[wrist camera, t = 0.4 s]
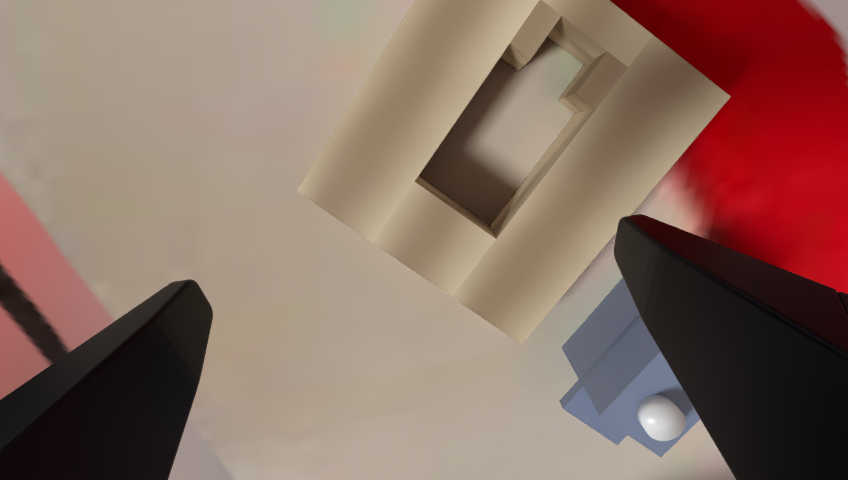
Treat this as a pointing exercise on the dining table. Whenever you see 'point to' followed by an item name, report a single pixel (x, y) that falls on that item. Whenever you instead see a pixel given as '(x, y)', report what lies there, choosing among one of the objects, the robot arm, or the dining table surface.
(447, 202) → the frame
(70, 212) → the dining table surface
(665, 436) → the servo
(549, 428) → the dining table surface
